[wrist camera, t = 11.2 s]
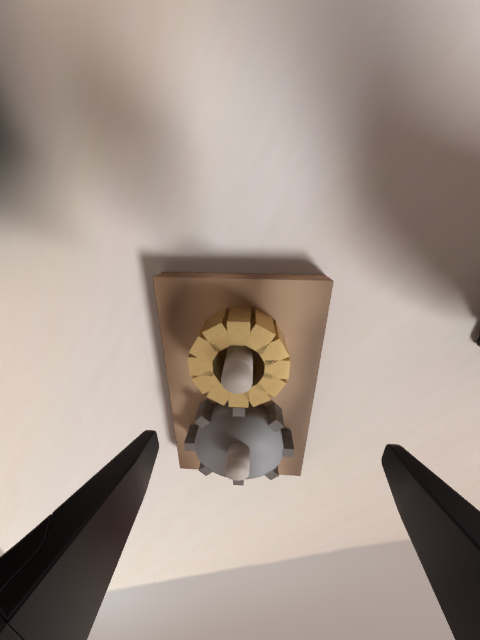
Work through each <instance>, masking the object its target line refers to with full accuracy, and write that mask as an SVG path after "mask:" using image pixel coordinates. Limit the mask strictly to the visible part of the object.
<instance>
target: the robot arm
mask: <svg viewBox="0 0 480 640" xmlns="http://www.w3.org/2000/svg"><path fill="white" fill-rule="evenodd" d="M477 345H478V346H479V347H480V336H479V338H478V340H477ZM158 449H159V443H158V438H157V433H156V431H154V430H146V431H144V432H143V433H142V434H140V435H139V436H138V437H137V438H136V439H135V440H134V441H133V442H131V443H130V444H129V445H128V446H127V447H126V448H125V449H124V450H122V451H121V452H120V453H119V454H118V455H117V456H116V457H115V458H113V459H112V460H111V461H110V462H109V463H108V464H107V465H105V466H104V467H103V468H102V469H101V470H100V471H99V472H98V473H96V474H95V475H94V476H93V477H92V478H91V479H90V480H89V481H87V482H86V483H85V484H84V485H83V486H82V487H81V488H80V489H78V490H77V491H76V492H75V493H74V494H73V495H72V496H71V497H69V498H68V499H67V500H66V501H65V502H64V503H63V504H62V505H60V506H59V507H58V508H57V509H56V510H55V511H54V512H53V513H52V514H50V515H49V516H48V517H47V518H46V519H44V520H43V521H42V522H41V523H40V524H39V525H38V526H37V527H35V528H34V529H33V530H32V531H31V532H30V533H28V534H27V535H26V536H25V537H24V538H23V539H21V540H20V541H19V542H18V543H17V544H16V545H14V546H13V547H12V548H11V549H9V550H8V551H7V552H6V553H4V554H3V555H2V556H1V557H0V640H87V638H88V636H89V633H90V630H91V628H92V625H93V623H94V621H95V618H96V616H97V613H98V611H99V608H100V606H101V603H102V601H103V598H104V596H105V593H106V591H107V588H108V586H109V583H110V581H111V578H112V576H113V573H114V571H115V568H116V566H117V563H118V561H119V558H120V556H121V553H122V551H123V548H124V546H125V543H126V541H127V538H128V536H129V533H130V531H131V528H132V526H133V523H134V521H135V519H136V516H137V514H138V511H139V509H140V506H141V504H142V501H143V498H144V496H145V493H146V490H147V487H148V484H149V480H150V477H151V473H152V470H153V467H154V463H155V460H156V457H157V453H158ZM382 466H383V469H384V472H385V475H386V477H387V480H388V483H389V486H390V489H391V492H392V495H393V498H394V501H395V503H396V506H397V509H398V512H399V514H400V516H401V519H402V521H403V523H404V526H405V528H406V530H407V532H408V535H409V537H410V539H411V541H412V543H413V546H414V548H415V550H416V552H417V554H418V557H419V559H420V561H421V564H422V566H423V568H424V570H425V572H426V575H427V577H428V579H429V582H430V583H431V586H432V588H433V591H434V593H435V595H436V597H437V599H438V602H439V604H440V606H441V609H442V611H443V613H444V615H445V617H446V620H447V622H448V624H449V626H450V629H451V631H452V633H453V635H454V638H455V640H480V511H479V510H477V509H476V508H475V507H474V506H473V505H471V504H470V503H469V502H468V501H467V500H465V499H464V498H463V497H462V496H461V495H459V494H458V493H457V492H456V491H455V490H453V489H452V488H451V487H450V486H449V485H447V484H446V483H445V482H444V481H443V480H441V479H440V478H439V477H438V476H437V475H435V474H434V473H433V472H432V471H431V470H429V469H428V468H427V467H426V466H425V465H423V464H422V463H421V462H420V461H418V460H417V459H416V458H415V457H414V456H412V455H411V454H410V453H409V452H408V451H406V450H405V449H404V448H403V447H402V446H400V445H397V444H387V445H386V447H385V450H384V453H383V456H382Z"/></svg>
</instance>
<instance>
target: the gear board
mask: <svg viewBox="0 0 480 640" xmlns="http://www.w3.org/2000/svg"><path fill="white" fill-rule="evenodd" d="M153 282H154V289H155V296H156V303H157V310H158V317H159V324H160V331H161V338H162V345H163V352H164V359H165V366H166V373H167V380H168V387H169V394H170V401H171V408H172V415H173V422H174V429H175V436H176V443H177V450H178V457H179V464H180V468H185V469H199V471H200V472H201V473H203V474H204V475H206V476H207V475H208V474H210V473H212V472H214V473H216V474H218V475H221V476H224V477H228V478H230V479H232V480H233V485H243V483H244V479H252V478H257V477H260V476H263V475H265V476H266V477H268V478H269V479H270V480H272V479H274V478H275V477H277V476H279V475H295V476H300V475H301V469H302V463H303V457H304V452H305V446H306V440H307V434H308V428H309V422H310V416H311V410H312V404H313V399H314V393H315V387H316V381H317V375H318V369H319V363H320V357H321V351H322V345H323V340H324V334H325V328H326V322H327V316H328V310H329V304H330V298H331V292H332V286H333V280H331V279H330V278H329V277H327V276H326V275H294V274H241V273H188V272H162V273H160V274H158V275H156V276H154V277H153ZM231 306H251V314H252V313H253V311H254V310H255V308H257V309H259V310H261V311H262V312H264V313H266V314H267V315H269V316H271V317H272V318H273V322H274V321H276V322H277V324H278V326H279V328H280V329H281V331H282V333H283V335H284V337H285V341H286V345H287V349H288V352H289V357H290V371H289V379H286V382H287V384H286V385H285V386H284V387H283V388H282V390H281V391H280V392H279V393H278V394H277V395H276V397H273V396H271V400H270V401H267V402H265V403H262V404H260V405H257V406H254V407H253V406H252V405H251V403H250V402H249V406H248V408H243V407H229V404H228V401H227V402H226V404H225V405H221V404H219V403H217V402H215V401H213V400H211V399H209V398H207V397H206V396H207V393H208V392H207V393H204V394H202V393H201V391H200V390H199V389H198V387H197V386H196V385H195V384H194V382H193V381H192V380H191V379H192V376H193V375H189V365H188V356H189V354H190V353H189V351H190V349H191V347H192V345H193V344H194V342H195V340H196V338H197V336H198V334H199V332H200V330H201V328H202V327H203V325H204V323H205V321H206V320H207V319H209V317H210V316H211V315H213V314H214V313H216V312H218V311H220V310H222V309H224V308H226V307H227V308H228V310H229V312H230V308H231ZM219 352H220V353H221V355H222V356H223V358H224V359H225V363H224V368H223V372H222V377H221V384H222V386H223V387H224V389H225V390H227V391H228V392H230V393H234V394H241V393H245V392H247V391H248V390H249V389H250V388H251V386H252V383H253V363H254V362H256V361H257V360H258V359H259V357H260V354H259V353H258V352H256V351H255V350H253V349H251V348H249V347H247V346H239V345H231V346H229V347H227V348H225V349H222V350H220V351H219Z"/></svg>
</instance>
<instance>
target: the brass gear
mask: <svg viewBox="0 0 480 640" xmlns="http://www.w3.org/2000/svg"><path fill="white" fill-rule="evenodd" d="M231 345H239V346H247V347H249V348H251V349H253V350H255V351H256V352H258V353H259V354H260V357H259V359H258V360H257V361H256V362H254V363H253V383H252V386H251V388H250V389H249V390H248V391H247V392H245V393H241V394H234V393H230V392H228V391H227V390H225V389H224V387H223V386H222V384H221V377H222V372H223V368H224V363H225V359H224V358H223V356H222V355H221V353H220V352H219V351H220V350H222V349H225V348H227V347H229V346H231ZM189 353H190V354H189V356H188V365H189V375H193V376H192V379H191V380H192V381H193V382H194V384H195V385H196V386H197V387H198V389H199V390H200V391H201V393H202V394H204V393H207V392H208V393H207V396H206V397H207V398H209V399H211V400H213V401H215V402H217V403H219V404H221V405H225V404H226V402H227V401H228V404H229V407H243V408H248V406H249V402H250V403H251V405H252V406H253V407H254V406H257V405H260V404H262V403H265V402H267V401H270V400H271V396H273V397H276V395H277V394H278V393H279V392H280V391H281V390H282V388H283V387H284V386H285V385H286V384H287V382H286V379H289V371H290V357H289V352H288V349H287V345H286V341H285V337H284V335H283V333H282V331H281V329H280V328H279V326H278V324H277V322H276V321H274V322H273V318H272V317H271V316H269V315H267V314H266V313H264V312H262V311H261V310H259V309H257V308H255V310H254V311H253V313H252V314H251V306H231V308H230V312H229V310H228V308H227V307H226V308H224V309H222V310H220V311H218V312H216V313H214V314H213V315H211V316H210V317H209V319H207V320H206V321H205V323H204V325H203V327H202V328H201V330H200V332H199V334H198V336H197V338H196V340H195V342H194V344H193V345H192V347H191V349H190V351H189Z"/></svg>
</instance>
